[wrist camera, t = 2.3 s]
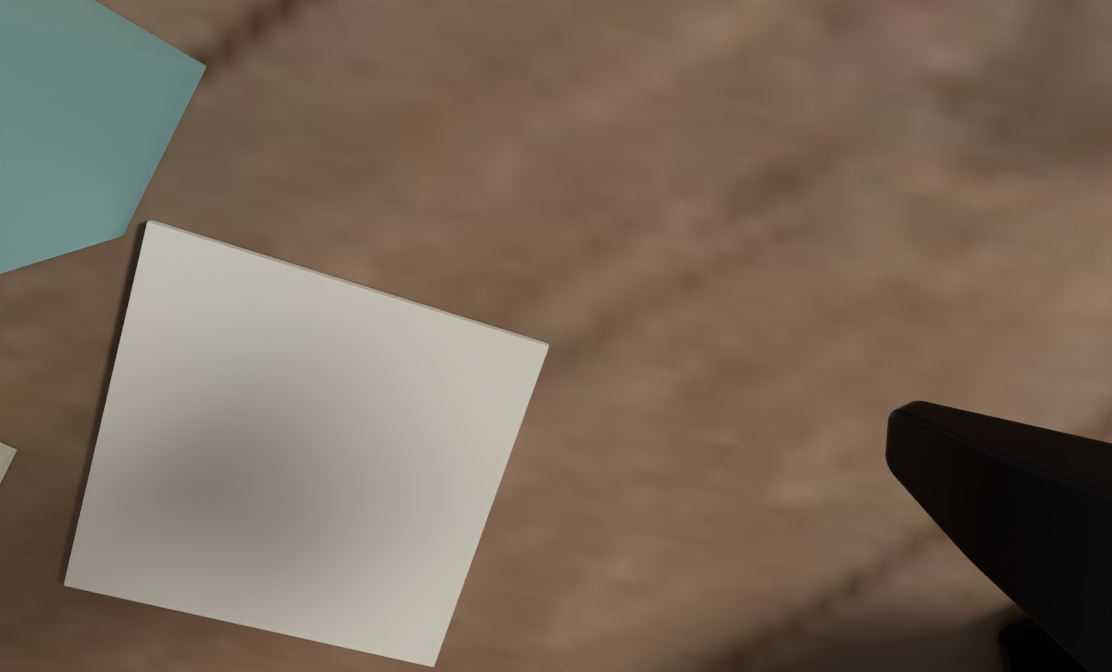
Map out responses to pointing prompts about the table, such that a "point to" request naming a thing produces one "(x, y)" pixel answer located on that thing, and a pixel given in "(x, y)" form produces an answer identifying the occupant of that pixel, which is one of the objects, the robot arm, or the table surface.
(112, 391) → the felt mat
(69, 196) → the teal blank
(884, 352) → the table surface
